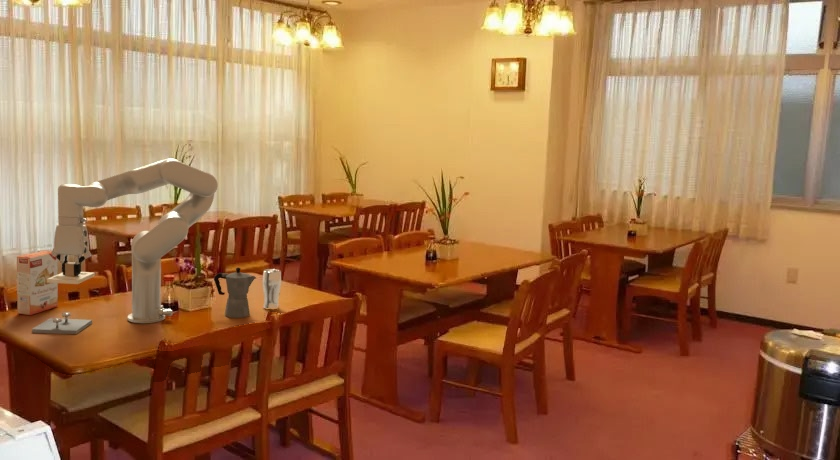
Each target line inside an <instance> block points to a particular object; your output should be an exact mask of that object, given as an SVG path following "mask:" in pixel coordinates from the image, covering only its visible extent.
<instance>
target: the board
mask: <svg viewBox="0 0 840 460" xmlns="http://www.w3.org/2000/svg"><path fill="white" fill-rule="evenodd" d="M53 319H54V318H52V317H51V318H48V319H46V320H45V321H43V322H41V323H40V324H38V325H36V326H35V327H33V328H31V333H33V334H59V335H60V334H61V335H62V334H63V335H78V334H79V333H80V332H81V331H83V330H85V329H86V328H87V327H89V326H91V325H92V324H93V319H79V318H77V319H75V318H68V322H65V318H61V319H62V321H61V322H59V327H58V328H56V323H55V322H53Z"/></svg>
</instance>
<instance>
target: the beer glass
mask: <svg viewBox="0 0 840 460" xmlns="http://www.w3.org/2000/svg"><path fill="white" fill-rule="evenodd" d="M281 286H282V271H281V269H275V268H267V269H264V270H263V273H262V290H263V295H264V298H263V299H264V301H263V307H264V308H277V307H278V306H279V307H280V303H279V296H280V291H281ZM263 307H262V308H263Z"/></svg>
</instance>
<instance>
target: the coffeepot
mask: <svg viewBox="0 0 840 460" xmlns="http://www.w3.org/2000/svg"><path fill="white" fill-rule="evenodd" d="M235 271H236V272H231V273H227V272H226V273H223V272H218V273H216V275H214V277H213V281H214V283H215V288H216V290H217V292H218V295H220V296H225V294H226V292H222V286H221V285H220V284H221V283H220V280H219V279H225V282H226V283H225V284H226V291H227V294H228V297H227V301H226V305H225V311H224V314H225V315H224V316H225V317H227V318H231V319H241V318H247V317H248V316H250V313H251V312H250V307H249V300H248V294H249V291H250V290H249V289H250V286H251V285H252V284H253V282H254V280H256V279H257V277H256V276H255V275H252V274H249V273H245V272H241V267H236V268H235Z"/></svg>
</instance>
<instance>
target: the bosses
mask: <svg viewBox="0 0 840 460" xmlns="http://www.w3.org/2000/svg"><path fill="white" fill-rule="evenodd" d="M61 316H62V317H64V319H65V322H68V319H69V317H71V316H72V315H71V312H63V313H61ZM62 319H63V318H61V317H55V318H54V319H53V322H55V323H56V328H58V327H59V322H61V321H62Z"/></svg>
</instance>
